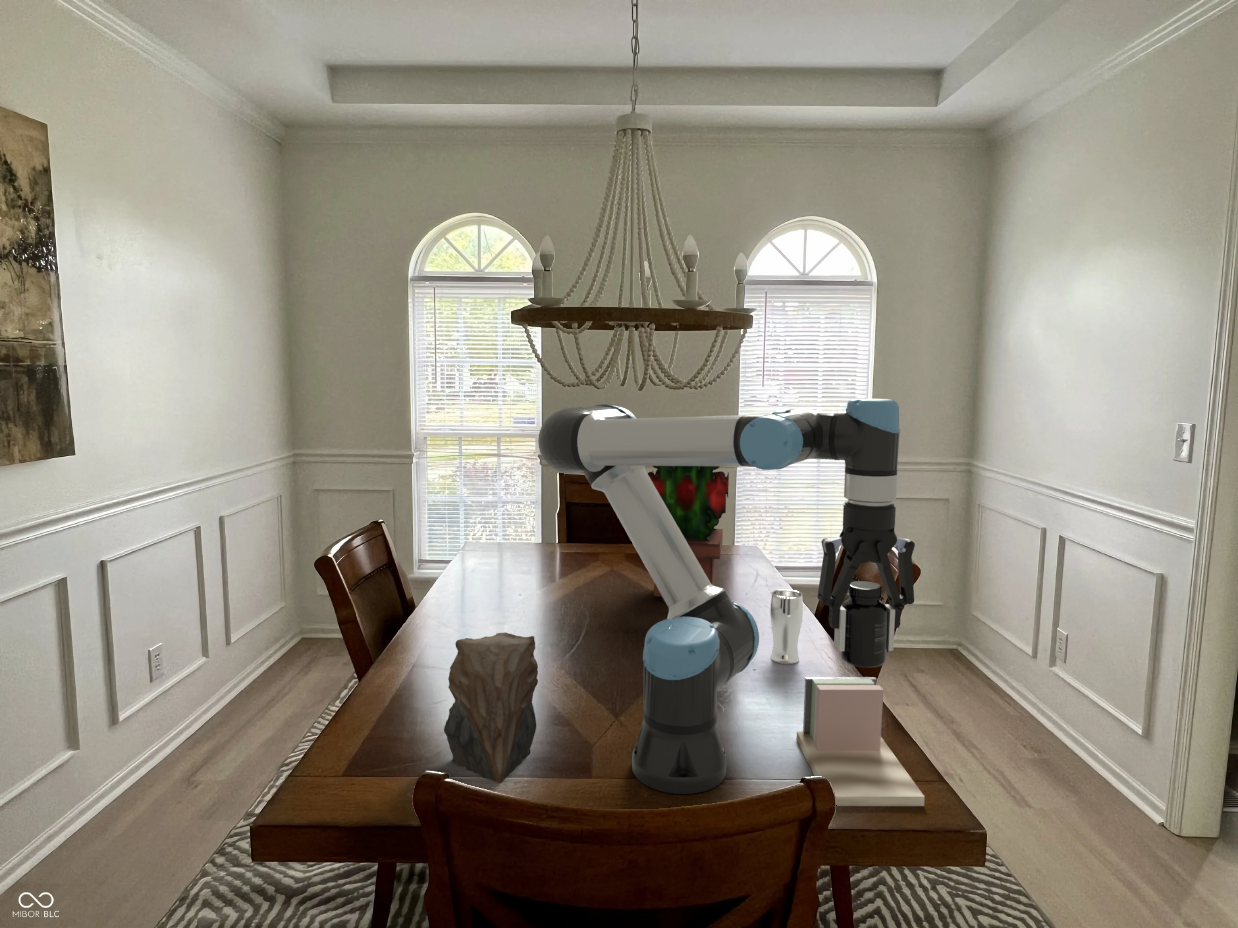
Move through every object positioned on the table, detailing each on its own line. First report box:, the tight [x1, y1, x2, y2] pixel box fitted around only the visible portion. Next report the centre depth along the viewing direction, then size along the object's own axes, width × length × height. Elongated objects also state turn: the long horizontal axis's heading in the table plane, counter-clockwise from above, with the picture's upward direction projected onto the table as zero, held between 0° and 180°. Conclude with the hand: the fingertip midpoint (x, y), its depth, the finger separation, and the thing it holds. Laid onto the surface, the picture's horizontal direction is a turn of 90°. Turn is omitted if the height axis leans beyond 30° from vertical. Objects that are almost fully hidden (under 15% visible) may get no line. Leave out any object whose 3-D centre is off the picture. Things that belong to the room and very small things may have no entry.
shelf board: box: [796, 730, 926, 807], centre depth 121 cm, size 20×14×2 cm
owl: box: [443, 632, 539, 784], centre depth 124 cm, size 13×13×20 cm
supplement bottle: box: [840, 580, 888, 668], centre depth 116 cm, size 7×7×12 cm
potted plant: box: [647, 466, 730, 602], centre depth 210 cm, size 22×22×45 cm
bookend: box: [802, 676, 878, 735], centre depth 130 cm, size 1×12×10 cm, turn 91°
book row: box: [810, 679, 884, 750], centre depth 127 cm, size 5×10×10 cm, turn 91°
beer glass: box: [769, 588, 804, 665], centre depth 166 cm, size 7×7×15 cm
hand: (863, 647), depth 117 cm, fingers closed on supplement bottle, 7 cm apart
